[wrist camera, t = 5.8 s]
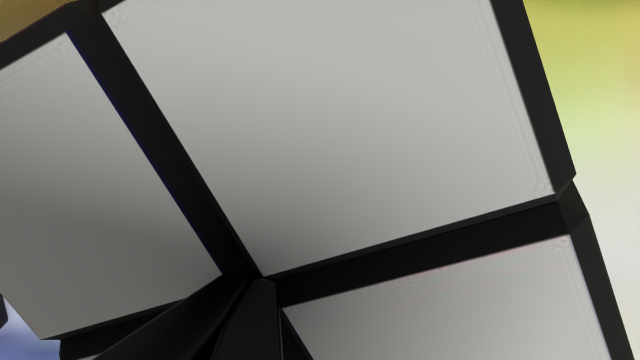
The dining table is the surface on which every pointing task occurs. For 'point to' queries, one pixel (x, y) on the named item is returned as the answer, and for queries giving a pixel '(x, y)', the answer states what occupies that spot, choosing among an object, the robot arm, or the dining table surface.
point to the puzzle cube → (299, 177)
